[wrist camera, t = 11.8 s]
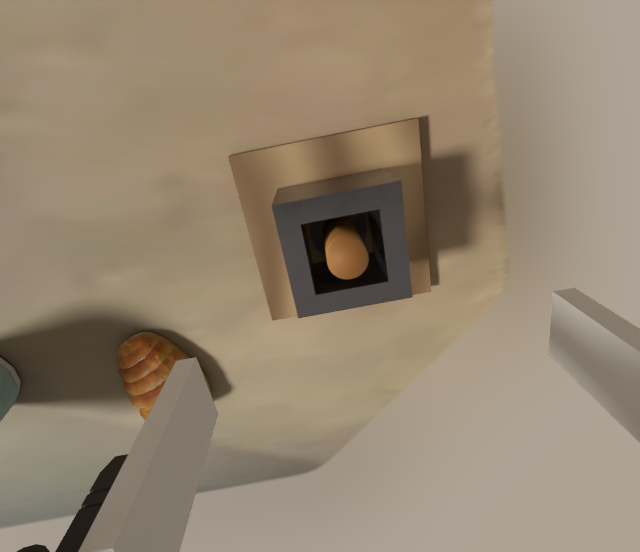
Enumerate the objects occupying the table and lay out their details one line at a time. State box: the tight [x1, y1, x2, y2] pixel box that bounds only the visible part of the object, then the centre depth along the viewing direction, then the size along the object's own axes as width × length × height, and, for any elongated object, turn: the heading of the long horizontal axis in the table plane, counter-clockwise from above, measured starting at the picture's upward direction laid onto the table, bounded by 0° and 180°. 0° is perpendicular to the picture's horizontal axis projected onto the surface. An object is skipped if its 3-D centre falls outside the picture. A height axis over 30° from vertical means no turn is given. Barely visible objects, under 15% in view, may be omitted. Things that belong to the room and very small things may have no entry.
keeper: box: [228, 118, 431, 320], centre depth 27 cm, size 14×14×8 cm
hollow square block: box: [271, 168, 412, 318], centre depth 27 cm, size 8×8×6 cm
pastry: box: [117, 332, 211, 420], centre depth 34 cm, size 9×7×4 cm
